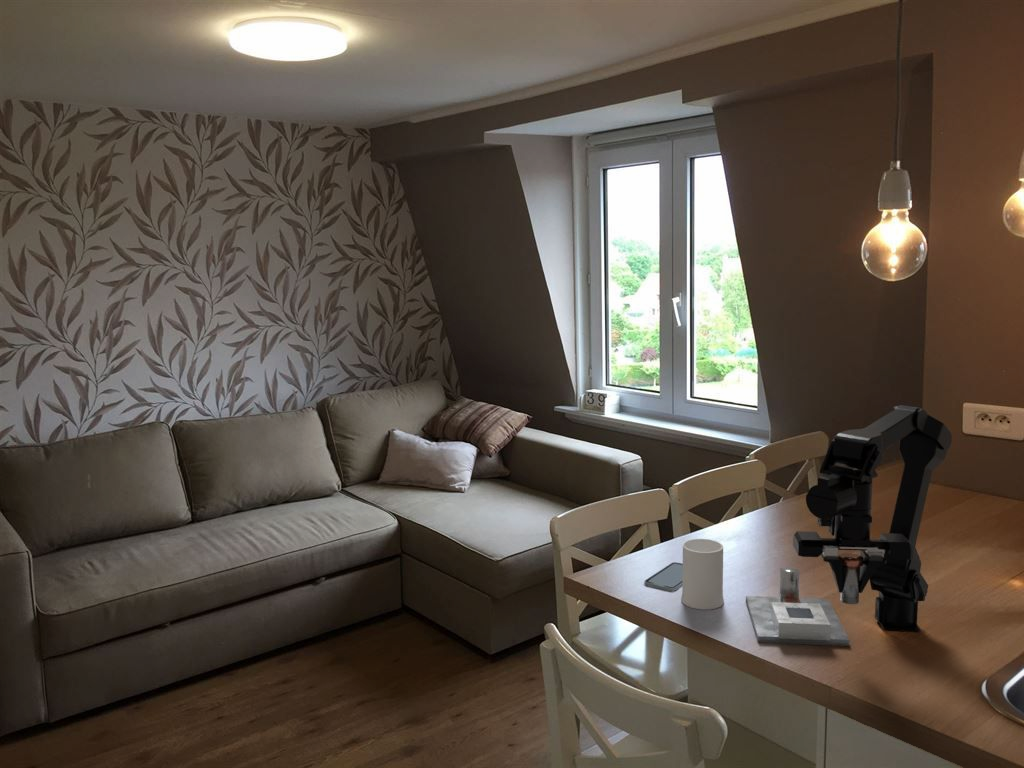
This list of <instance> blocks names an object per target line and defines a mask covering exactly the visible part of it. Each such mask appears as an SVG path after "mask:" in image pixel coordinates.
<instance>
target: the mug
mask: <svg viewBox="0 0 1024 768" xmlns="http://www.w3.org/2000/svg"><path fill="white" fill-rule="evenodd" d="M682 564H683V585H682V586H681V587H682V591H681V592H682V593H681V599H680V600H681V603H682V604H683V605H685V606H687V607H689V608H691V609H695V610H703V611H704V610H705V611H707V610H710V611H711V610H716V609H719V608H721V607H722V606H723V605H724V603H725V599H724V589H723V588H724V545H723V544H722V543H721V542H718V541H717V540H713V539H708V538H707V539H706V538H695V539H688V540H686V541H684V542H683V543H682Z"/></svg>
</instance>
